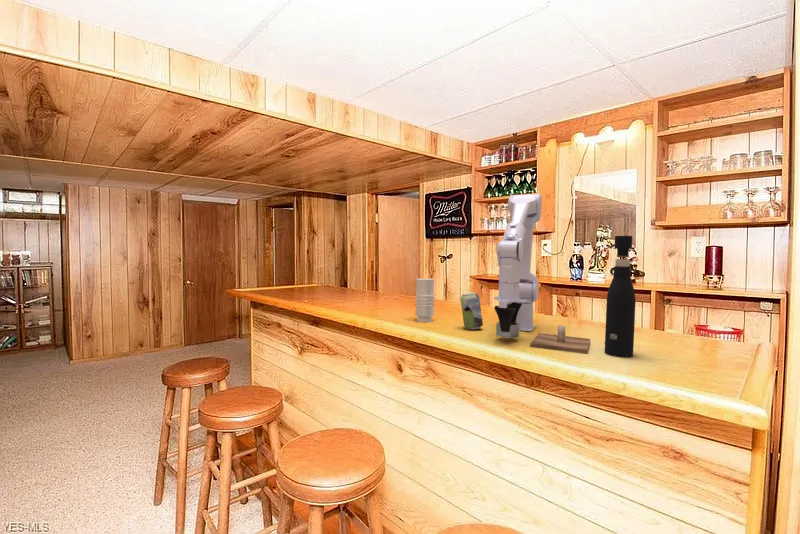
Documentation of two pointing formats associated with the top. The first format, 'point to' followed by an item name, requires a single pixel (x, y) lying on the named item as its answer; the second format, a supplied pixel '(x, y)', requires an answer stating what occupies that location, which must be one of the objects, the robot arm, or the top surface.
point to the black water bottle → (620, 304)
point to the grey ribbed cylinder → (424, 299)
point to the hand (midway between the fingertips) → (507, 329)
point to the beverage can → (471, 310)
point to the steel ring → (512, 333)
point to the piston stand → (561, 342)
